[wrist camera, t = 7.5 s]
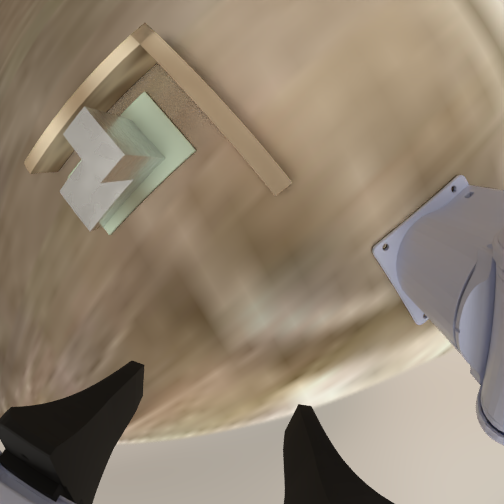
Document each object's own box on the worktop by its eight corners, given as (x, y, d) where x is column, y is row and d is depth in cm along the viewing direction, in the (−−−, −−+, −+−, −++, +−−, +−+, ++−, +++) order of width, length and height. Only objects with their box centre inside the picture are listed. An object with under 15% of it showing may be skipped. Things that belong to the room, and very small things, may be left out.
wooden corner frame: (162, 41, 17) (144, 22, 14) (289, 181, 19) (292, 182, 16) (51, 161, 20) (23, 162, 17) (152, 293, 22) (133, 313, 19)
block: (131, 119, 19) (84, 106, 13) (165, 157, 19) (124, 154, 13) (74, 189, 20) (22, 198, 14) (104, 226, 21) (55, 245, 15)
